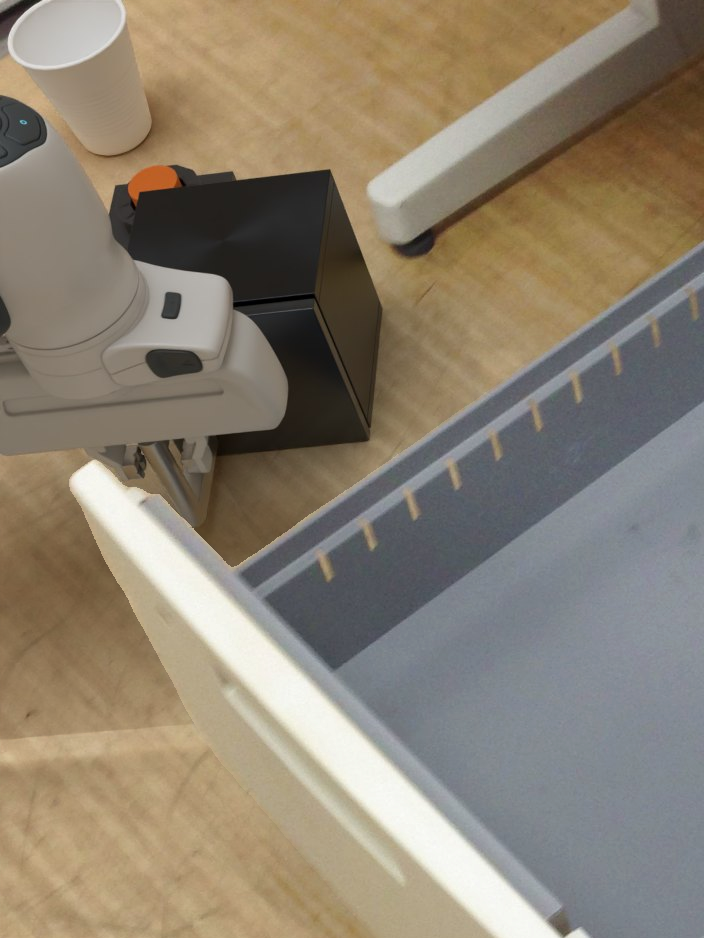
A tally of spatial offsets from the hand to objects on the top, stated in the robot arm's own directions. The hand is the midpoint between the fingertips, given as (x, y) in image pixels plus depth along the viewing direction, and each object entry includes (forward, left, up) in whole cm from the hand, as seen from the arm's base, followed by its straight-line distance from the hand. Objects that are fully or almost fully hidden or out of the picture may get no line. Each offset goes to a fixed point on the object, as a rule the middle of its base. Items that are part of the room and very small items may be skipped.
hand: (168, 469), depth 122 cm
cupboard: (+5, +14, -7) cm, 16 cm away
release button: (-7, +31, -3) cm, 32 cm away
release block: (-6, +31, -7) cm, 32 cm away
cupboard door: (+5, +3, -7) cm, 9 cm away
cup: (-13, +44, -7) cm, 47 cm away
